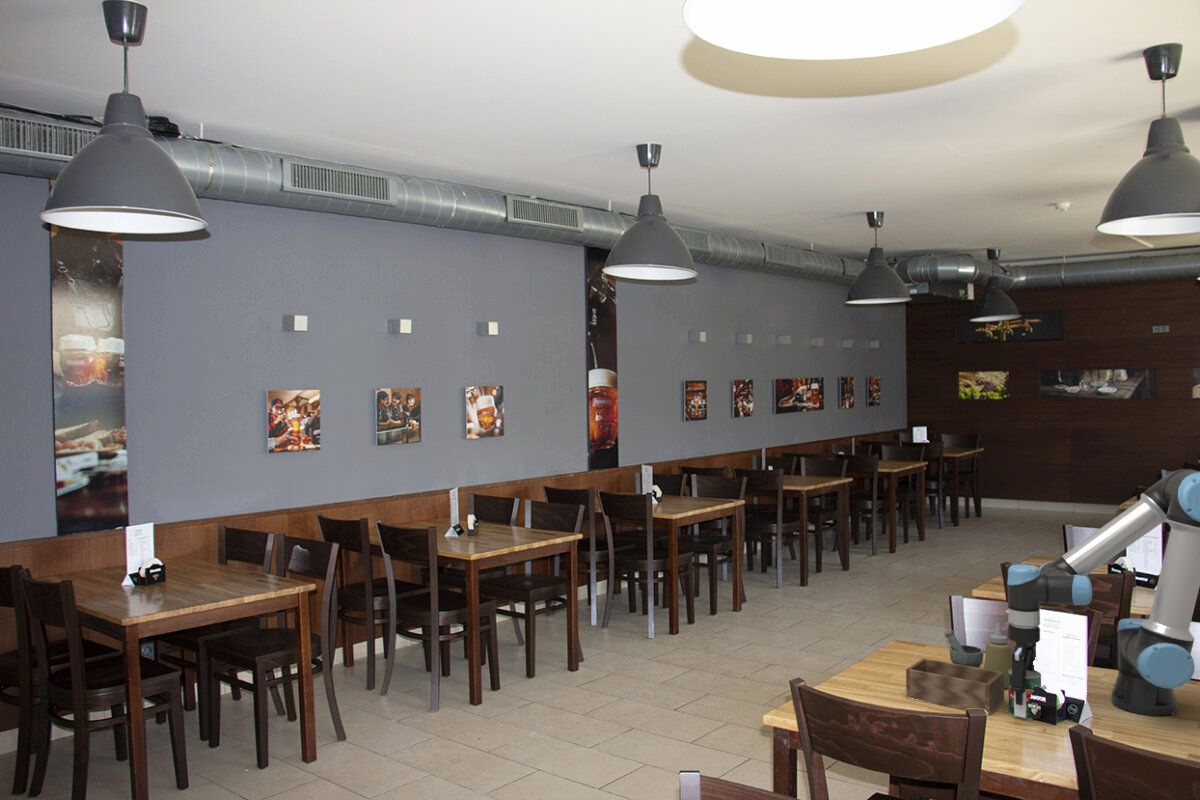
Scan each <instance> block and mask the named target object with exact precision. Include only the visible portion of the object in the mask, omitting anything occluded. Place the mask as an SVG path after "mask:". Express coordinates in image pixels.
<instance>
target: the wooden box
mask: <svg viewBox="0 0 1200 800" xmlns="http://www.w3.org/2000/svg"><path fill="white" fill-rule="evenodd" d="M905 675H906V676H905V679H906V680H905V683H906V684H905V685H906V687H905V688H906V696H905V697H906V698H907V697H910V698H914V699H919V700H923V701H927V702H930V703H929V704H931V703H933V704H932V705H936V704H937V706H940V707H941V706H943V707H947V708H951V709H955V710H961V711H965V709H967V708H983V709H985V710H986V711H987V712H988V715H987V716H989V717H990V716H991V715H992V714H993V713H994V712H996V710H997V709H998V708H1000V706H1002V705H1003V704H1004V703H1005V689H1004V672H998V671H992V670H987V669H984V668H980V667H978V668H976V667H970V666H965V665H959V664H953V663H952V662H947V661H941V660H935V659H930V658H925V657H923V658H921V659H920V660H918V661H916V662H915V663H914V664H912V665H911V666H909V667H908V668H906V670H905ZM927 702H926V703H927ZM963 709H964V710H963Z"/></svg>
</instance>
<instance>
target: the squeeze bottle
mask: <svg viewBox="0 0 1200 800" xmlns="http://www.w3.org/2000/svg"><path fill="white" fill-rule="evenodd" d="M1011 647H1012V646H1011V645H1010V644H1009V643H1008V636H1007V635H1004V633H1003V628H1002V625H1001V623H1000V622H996V623H995V625H994V630H993V633H992V634H989V641H987V643H986V644H985V654H984V655H985V656H984V667H983V669H987V670H992V671H998V672H1004V690H1005V689H1008V670H1009V669H1012V648H1011Z"/></svg>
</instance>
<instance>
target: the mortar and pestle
mask: <svg viewBox="0 0 1200 800" xmlns="http://www.w3.org/2000/svg"><path fill="white" fill-rule="evenodd" d="M954 633H955V632H954V631H953V629H951V630H947V631H945V632H944V636H945V637H946V638H947V640H948V643H949V645H950V646H949V658H950V661H951V663H953V664H959V665H965V666H970V667H976V668H980V667H981V665H982V664H983V662H984V649H982V648H981V647H978V646H974V645H967V644H961V643H960V642H959V640H958V638H957V637H956V635H955V634H954Z"/></svg>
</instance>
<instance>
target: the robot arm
mask: <svg viewBox="0 0 1200 800" xmlns="http://www.w3.org/2000/svg"><path fill="white" fill-rule="evenodd" d="M1162 523H1167V524H1168V525H1169V526H1170V531H1169V534H1168V535H1169V536H1168V540H1167V544H1166V548H1165V552H1164V556H1163V561H1162V565H1161V568H1160V569H1161V570H1160V573H1159V576H1158V577H1159V578H1158V581H1157V584H1156V585H1157V586H1156V589H1155V594H1154V597H1153V600H1152V601H1153V602H1152V605H1151V610H1150V614H1149V618H1148V619H1147V618H1133V617H1132V618H1122V619H1120V620H1118V624H1117V630H1116V631H1117V654H1118V657H1117V658H1118V659H1117V660H1118V661H1117V662H1118V663H1117V664H1118V672H1117V677H1116V680H1115V683H1114V685H1113V688H1112V690H1111V694H1110V695H1111V698H1110V699H1111V704H1112V705H1114V706H1116V707H1117V708H1119V709H1121V708H1122V709H1121V710H1123V709H1124V711H1126V710H1128V711H1127V712H1130V711H1131V712H1130V713H1134V712H1136V713H1135V714H1138V713H1142V714H1141V715H1144V714H1150V715H1149V716H1154V715H1166V716H1168V715H1167V714H1172V713H1175V712H1177V713H1178V711H1177V710H1178V709H1179V708H1178V705H1179V703H1178V700H1177V697H1176V694H1175V691H1174V689H1175V688H1176V689H1177V688H1179V687H1181V686H1184V685H1186V684H1187V683H1188V682H1190V680H1191V679H1192V678H1193V675H1194V673H1195V661H1194V658H1193V656H1192V654H1191V653H1192V651H1193V648H1194V647H1193V646H1194V641H1195V638H1194V636H1193V635H1192V633H1191V632H1190V627H1191V622H1192V620H1193V619H1192V618H1193V615H1194V610H1195V606H1196V602H1197V599H1198V594H1199V590H1200V470H1196V469H1192V468H1185V469H1178V470H1175V471H1172V472H1170V473H1168V474H1167V475H1165V476H1163V478H1161V479H1160V480H1158V481H1157V482H1156V483H1155V484H1153V485H1152V486H1150V487H1149V488H1148V489H1146V490H1145V491H1143V492H1142V493H1141V494H1140V499H1139V500H1138V501H1136V502H1135V503H1134V504H1132V505H1131V506H1130V507H1128V508H1127V509H1126V510H1125V509H1124V511H1122V513H1120V514H1118V515H1117V516H1116V517H1114V518H1113V519H1112V520H1110V521H1109V522H1107V523H1106V524H1104V525H1103V526H1102V527H1100V528H1099V529H1098V530H1096V531H1095V532H1093V533H1092V534H1091V535H1089V536H1088V537H1087V538H1085V539H1083V540H1081V542H1079V543H1077V544H1076V545H1075V546H1074V547H1072V548H1071V549H1070V550H1069V551H1066V552H1065V553H1064V554H1063V555H1062V556H1060V557H1058V558H1057V559H1056V560H1054V561H1049V562H1046V563H1043V564H1042V565H1040V567H1038V566H1036V565H1032V564H1022V563H1021V564H1019V563H1018V564H1012V565H1010V566H1009V567H1008V570H1007V581H1006V582H1007V583H1006V584H1007V607H1008V608H1007V609H1006V611H1005V612H1006V614H1007V615H1008V616H1007V617H1008V623H1009V624H1008V625H1007V634H1008V636H1007V638H1008V639H1009V640H1010V641H1013V642H1015V643H1016V644H1015V646H1014V649H1013V651H1011V653H1012V683H1011V688H1010V690H1011V691H1014V716H1018V717H1023V718H1026V692H1025V682H1026V679H1025V677H1026V671H1027V670H1028V671H1033V670H1034V665H1033V661H1034V660H1035V657H1036V658H1037V643H1038V642H1040V640H1041V628H1040V625H1041V612H1040V611H1041V610H1040V608H1041V607H1040V606H1041V605H1040V604H1050V605H1051V604H1052V605H1069V606H1076V607H1077V606H1087V605H1089V604H1090V603H1091V602H1092V599H1093V587H1092V583H1091V578H1089V577H1088V575H1090V574H1091V573H1093V572H1095V570H1097V569H1098V568H1100V567H1101V566H1103V565H1104V564H1106V563H1107V562H1108V561H1109V560H1111V559H1113V558H1114V557H1115V556H1117V555H1118V554H1119V553H1121V552H1122V551H1124V550H1126V549H1127V548H1128V547H1130V546H1131V545H1132V544H1134V543H1135V542H1137V541H1138V540H1140V539H1141V538H1142V537H1144V536H1145V535H1147V534H1148V533H1149V532H1151V531H1153V530H1154V529H1155V528H1157V527H1158V526H1160V525H1161V524H1162ZM1175 714H1176V713H1175ZM1172 715H1173V714H1172ZM1014 716H1013V717H1014Z"/></svg>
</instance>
